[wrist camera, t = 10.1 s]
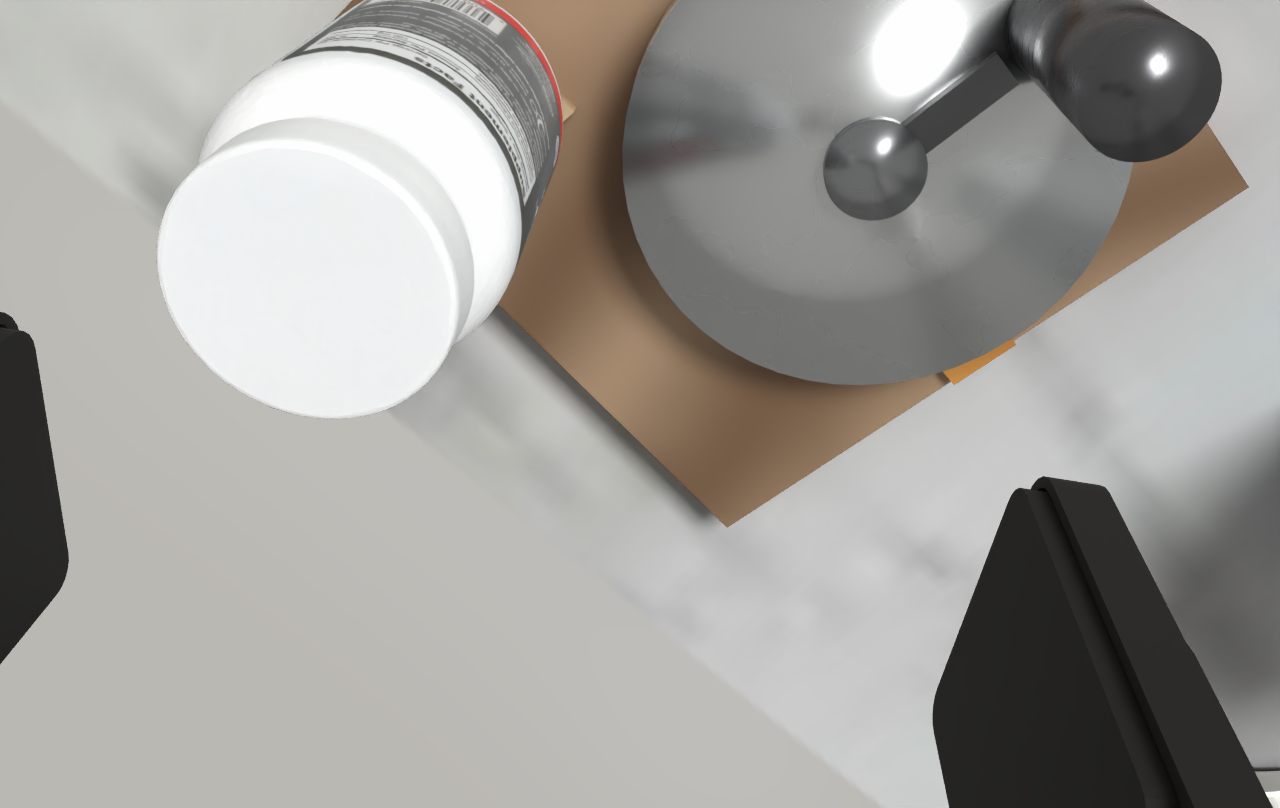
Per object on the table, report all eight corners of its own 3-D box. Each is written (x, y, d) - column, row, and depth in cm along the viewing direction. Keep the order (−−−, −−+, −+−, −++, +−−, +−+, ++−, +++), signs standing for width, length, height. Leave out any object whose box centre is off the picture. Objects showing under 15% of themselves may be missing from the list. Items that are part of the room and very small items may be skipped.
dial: (1225, 171, 25) (1368, 294, 19) (820, 441, 29) (842, 603, 24) (943, -256, 21) (1020, -256, 15) (526, 126, 25) (470, 232, 20)
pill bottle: (426, 267, 27) (291, 502, 19) (268, 72, 25) (34, 239, 17) (616, 144, 25) (562, 346, 17) (464, -79, 23) (313, 24, 15)
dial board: (1228, 170, 26) (1256, 193, 25) (727, 502, 32) (726, 536, 31) (804, -476, 21) (809, -492, 19) (290, 71, 27) (267, 89, 25)
